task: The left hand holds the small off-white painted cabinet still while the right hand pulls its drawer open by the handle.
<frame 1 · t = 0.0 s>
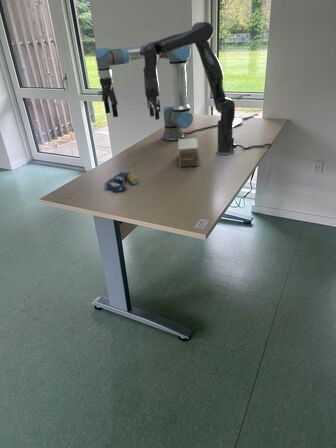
left hand: (111, 114, 206), 28 cm above the table, tool pointing down, fingers open, 13 cm apart
right hand: (154, 117, 186), 29 cm above the table, tool pointing down, fingers open, 8 cm apart
spray gun: (123, 184, 183), on the table
spoon: (232, 126, 261), on the table
drawer: (188, 155, 199), point 5 cm above the table, slide at 1.0 cm
cabinet: (188, 160, 207), on the table
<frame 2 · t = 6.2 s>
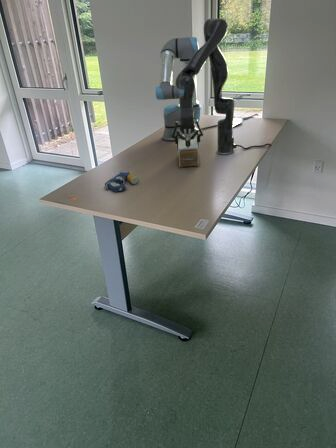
left hand: (188, 148, 207), 6 cm above the table, tool pointing down, fingers closed on cabinet, 12 cm apart
right hand: (188, 146, 188), 13 cm above the table, tool pointing down, fingers closed
cabinet: (188, 160, 207), on the table, touching left hand
everything else where it was.
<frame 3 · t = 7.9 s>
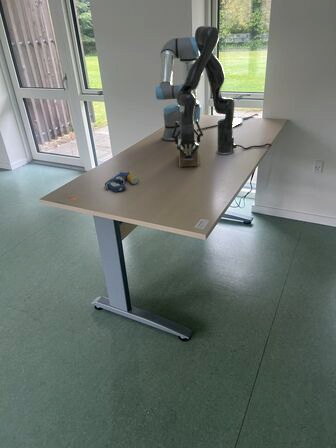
left hand: (188, 148, 207), 6 cm above the table, tool pointing down, fingers closed on cabinet, 12 cm apart
right hand: (188, 161, 192), 5 cm above the table, tool pointing down, fingers closed
drawer: (188, 155, 199), point 5 cm above the table, slide at 1.0 cm, touching right hand
cabinet: (188, 160, 207), on the table, touching left hand
everything else where it was.
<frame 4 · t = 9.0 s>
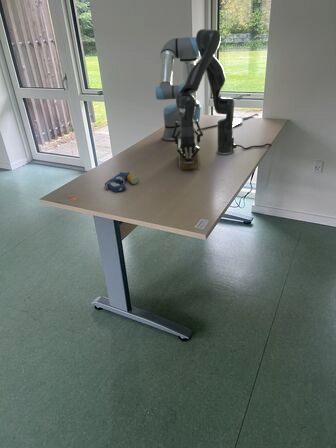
left hand: (187, 148, 207), 6 cm above the table, tool pointing down, fingers closed on cabinet, 12 cm apart
right hand: (189, 164, 188), 5 cm above the table, tool pointing down, fingers closed
drawer: (188, 158, 195), point 5 cm above the table, slide at 5.8 cm, touching right hand
cabinet: (188, 160, 206), on the table, touching left hand
everything else where it was.
when the left hand's fingers open (6 cm above the table, at t = 10.6 s): cabinet stays where it is, on the table.
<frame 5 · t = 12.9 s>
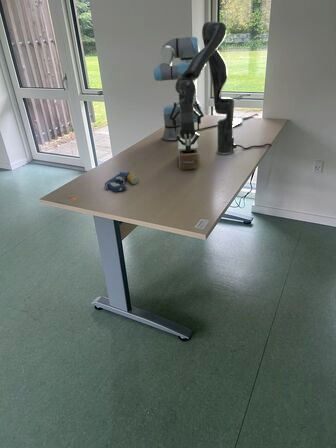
left hand: (187, 130, 201), 18 cm above the table, tool pointing down, fingers open, 13 cm apart
right hand: (188, 151, 184), 12 cm above the table, tool pointing down, fingers closed
drawer: (188, 158, 195), point 5 cm above the table, slide at 5.8 cm
cabinet: (188, 160, 206), on the table
everything else where it was.
at the end: drawer slide at 5.8 cm; cabinet tilted 0°; cabinet never tilted more than 1° during the clip; cabinet moved 0.1 cm from its start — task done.
